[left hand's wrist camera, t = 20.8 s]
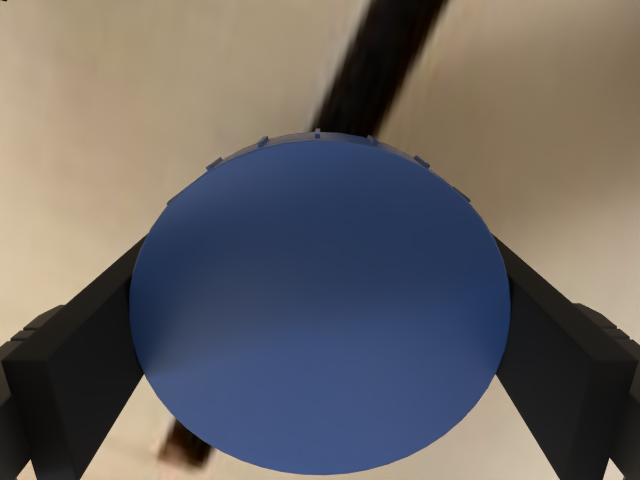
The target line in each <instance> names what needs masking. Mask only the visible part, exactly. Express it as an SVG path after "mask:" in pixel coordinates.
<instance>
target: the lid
mask: <svg viewBox="0 0 640 480" xmlns="http://www.w3.org/2000/svg"><path fill="white" fill-rule="evenodd" d="M429 167H430V165H429V164H428V163H426V162H425V161H424V160H422V159H421V158H419V157H418V156H415V157H414V158H413V157H411V156H409V155H408V154H406V153H404V152H402V151H399V150H397V149H395V148H393V147H391V146H389V145H387V144H384V143H381V142H378V141H377V140H376V139H375V138H374V137H373V136H370V135H368V137H367V138H365V137H360V136H354V135H348V134H342V133H329V132H320V129H316V130H315V132H308V133H299V134H289V135H285V136H280V137H276V138H272V139H268V136H266V137H263V138H262V139H261V140H260V141H259V142H258V143H256V144H254V145H251V146H249V147H246V148H244V149H241V150H240V151H238V152H236V153H234V154H233V155H231V156H229V157H227V158H225V159H224V160H222V158H221V157H220V158H219V159H217V160H216V161H214V162H213V163H212V164H210V165H209V166H207V167H206V169H207V170H208V171H207V172H206V173H205V174H203V175H202V176H201V177H199V178H198V179H197V180H195V181H194V182H193V183H192V184H190V185H189V186H188V187H186V188H185V189H184V190H182V191H181V192H180V193H179V194H177V195H176V196H175V197H173V198H172V199H171V200H169V201H168V203H167V205H168V206H167V207H166V208H165V210H164V211H163V212H162V214H161V215H160V217H159V218H158V219H157V221H156V222H155V224H154V225H153V226H152V228H151V229H150V231H149V233H148V235H147V237H146V239H145V241H144V243H143V245H142V247H141V249H140V252H139V255H138V258H137V261H136V264H135V267H134V270H133V274H132V280H131V286H130V292H129V322H130V328H131V334H132V339H133V344H134V348H135V351H136V355H137V358H138V361H139V363H140V365H141V368H142V370H143V372H144V374H145V376H146V379H147V380H148V382H149V383H150V385H151V387H152V388H153V390H154V392H155V393H156V395H157V396H158V398H159V399H160V400H161V401H162V403H163V404H164V405H165V406H166V407H167V409H168V410H169V411H170V412H171V413H172V414H173V415H174V416H175V417H176V418H177V419H178V420H179V421H180V422H181V423H182V424H183V425H184V426H185V427H186V428H187V429H189V430H190V431H191V432H193V433H194V434H195V435H197V436H198V437H199V438H201V439H202V440H203V441H205V442H207V443H208V444H210V445H212V446H213V447H215V448H217V449H218V450H220V451H222V452H224V453H226V454H228V455H230V456H233V457H235V458H237V459H239V460H241V461H244V462H247V463H250V464H253V465H256V466H259V467H263V468H267V469H272V470H276V471H280V472H287V473H295V474H303V475H334V474H347V473H353V472H358V471H364V470H369V469H373V468H376V467H380V466H383V465H387V464H390V463H392V462H395V461H397V460H400V459H403V458H405V457H408V456H410V455H412V454H414V453H415V452H417V451H419V450H421V449H423V448H425V447H427V446H428V445H430V444H431V443H433V442H434V441H436V440H437V439H439V438H440V437H442V436H443V435H445V434H446V433H447V432H448V431H450V430H451V429H452V428H453V427H454V426H455V425H457V424H458V423H459V422H460V421H461V420H462V419H463V418H464V417H465V416H466V415H467V414H468V413H469V412H470V410H471V409H472V408H473V407H474V406H475V405H476V404H477V402H478V401H479V399H480V398H481V397H482V395H483V394H484V392H485V391H486V390H487V388H488V387H489V385H490V383H491V381H492V379H493V377H494V375H495V373H496V372H497V370H498V367H499V364H500V362H501V359H502V356H503V354H504V351H505V348H506V343H507V337H508V332H509V326H510V315H511V299H510V288H509V281H508V277H507V273H506V269H505V265H504V261H503V258H502V256H501V254H500V251H499V249H498V246H497V244H496V241H495V239H494V237H493V236H492V234H491V233H490V231H489V229H488V228H487V226H486V224H485V223H484V221H483V220H482V218H481V217H480V215H479V214H478V213H477V212H476V211H475V210H474V208H473V207H472V206H471V205H470V204H469V202H470V200H469V198H468V197H466V196H465V195H464V194H462V193H461V192H460V191H458V190H457V189H456V188H454V187H452V186H450V185H449V184H448V183H447V182H446V181H445V180H443V179H442V178H441V177H440V176H438V175H437V174H436V173H434V172H433V171H432V170H430V169H429Z"/></svg>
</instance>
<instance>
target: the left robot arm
mask: <svg viewBox="0 0 640 480" xmlns="http://www.w3.org/2000/svg"><path fill="white" fill-rule="evenodd" d="M491 234H492V233H491ZM147 235H148V234H147ZM147 235H146V236H145V237H143V238H142V239H141V240H140V241H139V242H138V243H136V244H135V245H134V246H133V247H132V248H131V249H130V250H128V251H127V252H126V253H125V254H124V255H123V256H121V257H120V258H119V259H118V260H117V261H116V262H115V263H113V264H112V265H111V266H110V267H109V268H108V269H106V270H105V271H104V272H103V273H102V274H101V275H99V276H98V277H97V278H96V279H95V280H94V281H93V282H91V283H90V284H89V285H88V286H87V287H86V288H84V289H83V290H82V291H81V292H80V293H79V294H78V295H76V296H75V297H74V298H73V299H72V300H71V301H69V302H68V303H67V304H66V305H59V306H57V307H55V308H53V309H51V310H49V311H47V312H45V313H43V314H41V315H39V316H37V317H36V318H35V319H34V320H33V321H31V322H30V323H29V324H28V325H26V326H25V327H24V328H23V331H19V332H18V333H17V334H16V335H14V336H13V337H12V338H11V340H10V341H7V342H6V343H5V344H3V345H2V346H1V347H0V480H17V478H16V477H17V476H18V475H19V473H20V472H21V471H22V470H23V468H24V467H25V466H26V464H27V463H28V462H29V460H30V459H31V462H32V465H33V468H34V472H35V475H36V478H37V480H80V478H81V477H82V475H83V474H84V472H85V470H86V469H87V467H88V465H89V464H90V462H91V460H92V459H93V457H94V455H95V454H96V452H97V450H98V449H99V447H100V446H101V444H102V442H103V441H104V439H105V437H106V436H107V434H108V432H109V431H110V429H111V427H112V426H113V424H114V423H115V421H116V419H117V418H118V416H119V414H120V413H121V411H122V409H123V408H124V406H125V404H126V403H127V401H128V399H129V398H130V396H131V395H132V393H133V391H134V390H135V388H136V386H137V385H138V383H139V381H140V380H141V378H142V376H143V375H144V372H143V370H142V368H141V365H140V363H139V361H138V358H137V355H136V351H135V348H134V344H133V339H132V334H131V328H130V322H129V292H130V286H131V280H132V274H133V270H134V267H135V264H136V261H137V258H138V255H139V252H140V249H141V247H142V245H143V243H144V241H145V239H146V237H147ZM492 236H493V237H494V239H495V241H496V244H497V246H498V249H499V251H500V254H501V256H502V258H503V261H504V265H505V269H506V273H507V277H508V281H509V288H510V299H511V315H510V326H509V332H508V337H507V343H506V348H505V351H504V354H503V356H502V359H501V362H500V364H499V367H498V370H497V372H496V373H495V374H496V375H497V377H498V379H499V380H500V382H501V384H502V385H503V387H504V388H505V390H506V392H507V393H508V395H509V397H510V398H511V400H512V402H513V403H514V405H515V407H516V408H517V410H518V411H519V413H520V415H521V416H522V418H523V420H524V421H525V423H526V425H527V426H528V428H529V430H530V431H531V433H532V435H533V436H534V438H535V439H536V441H537V443H538V444H539V446H540V448H541V449H542V451H543V453H544V454H545V456H546V458H547V459H548V461H549V462H550V464H551V466H552V467H553V469H554V471H555V472H556V474H557V476H558V477H559V479H560V480H603V477H604V474H605V470H606V467H607V464H608V461H609V457H610V459H611V460H612V461H613V462H614V464H615V465H616V466H617V468H618V469H619V470H620V471H621V473H622V474H623V475H624V478H623V480H640V345H639V344H638V343H636V342H635V341H634V340H630V337H629V336H628V335H627V334H625V333H624V332H623V331H622V330H620V329H617V326H616V325H614V324H613V323H612V322H611V321H609V320H608V319H607V318H606V317H605V316H603V315H602V314H600V313H598V312H596V311H594V310H592V309H590V308H588V307H586V306H584V305H582V304H580V303H571V302H570V301H569V300H568V299H567V298H566V297H564V296H563V295H562V294H561V293H560V292H559V291H558V290H556V289H555V288H554V287H553V286H552V285H551V284H549V283H548V282H547V281H546V280H545V279H544V278H543V277H541V276H540V275H539V274H538V273H537V272H536V271H534V270H533V269H532V268H531V267H530V266H529V265H527V264H526V263H525V262H524V261H523V260H522V259H521V258H519V257H518V256H517V255H516V254H515V253H514V252H512V251H511V250H510V249H509V248H508V247H507V246H506V245H504V244H503V243H502V242H501V241H500V240H499V239H497V238H496V237H495V236H494V235H493V234H492Z"/></svg>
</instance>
